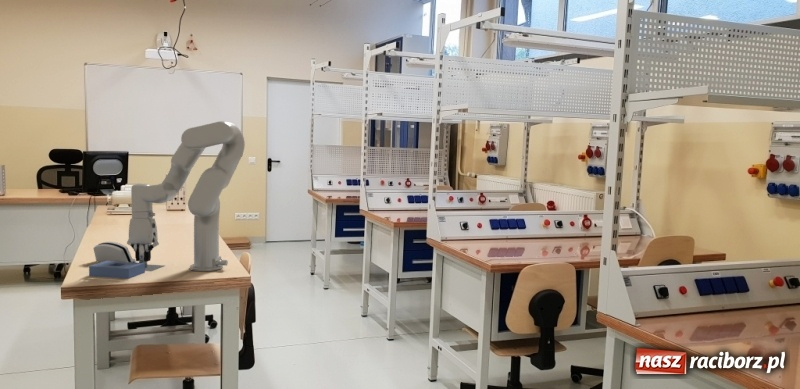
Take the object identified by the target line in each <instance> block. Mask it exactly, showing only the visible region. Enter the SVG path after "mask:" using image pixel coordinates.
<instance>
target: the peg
mask: <svg viewBox="0 0 800 389" xmlns="http://www.w3.org/2000/svg"><path fill="white" fill-rule="evenodd" d="M144 252H146V251H145V244H139V261H138V263H145V268H146V267H147V264H148V261H147V262H145V261H144Z"/></svg>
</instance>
